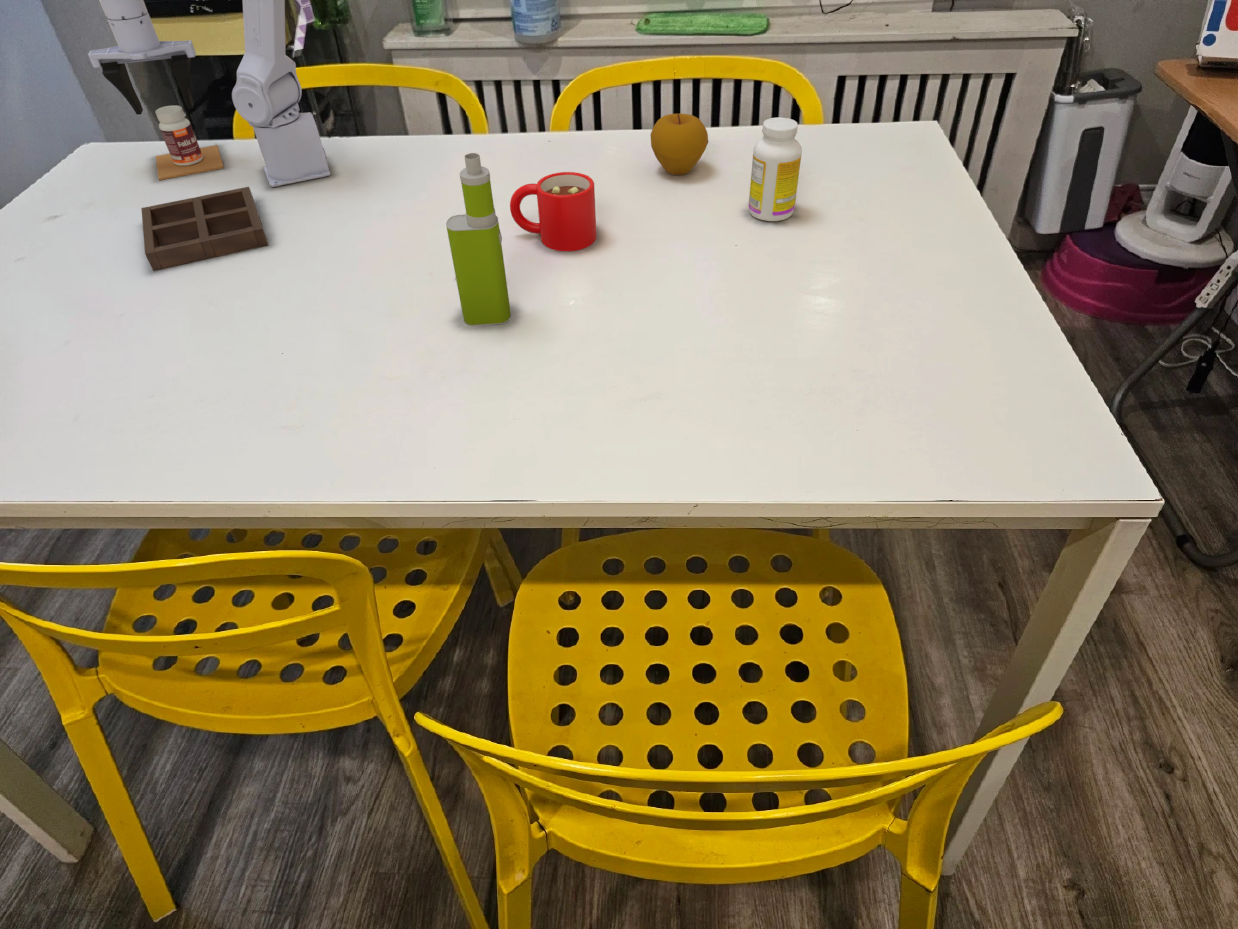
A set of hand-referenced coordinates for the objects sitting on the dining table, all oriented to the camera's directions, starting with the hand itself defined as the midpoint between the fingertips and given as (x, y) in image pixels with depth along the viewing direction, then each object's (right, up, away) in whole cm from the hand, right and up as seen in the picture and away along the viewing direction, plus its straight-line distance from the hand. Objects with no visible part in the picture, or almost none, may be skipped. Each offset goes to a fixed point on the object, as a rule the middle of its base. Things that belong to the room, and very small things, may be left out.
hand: (165, 109), depth 127 cm
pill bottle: (0, -6, +7) cm, 9 cm away
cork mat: (0, -6, +7) cm, 9 cm away
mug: (+64, -25, -15) cm, 70 cm away
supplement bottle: (+95, -20, -11) cm, 98 cm away
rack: (+13, -24, -12) cm, 29 cm away
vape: (+57, -39, -29) cm, 75 cm away
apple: (+82, -10, 0) cm, 83 cm away
